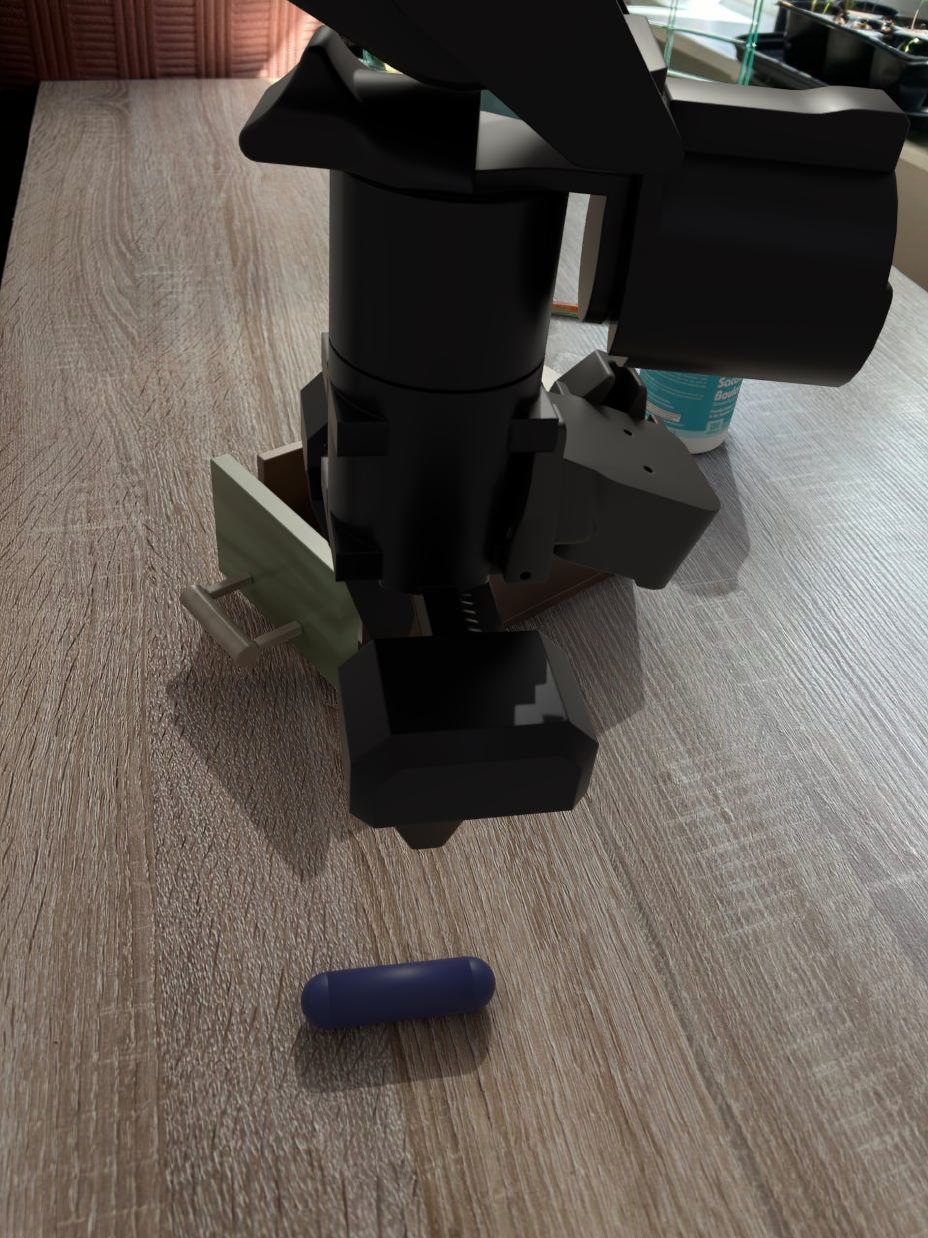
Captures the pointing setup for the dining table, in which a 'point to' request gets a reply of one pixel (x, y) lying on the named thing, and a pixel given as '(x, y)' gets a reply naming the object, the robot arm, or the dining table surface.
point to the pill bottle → (692, 405)
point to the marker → (397, 992)
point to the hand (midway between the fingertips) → (406, 740)
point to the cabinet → (562, 579)
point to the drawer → (276, 565)
